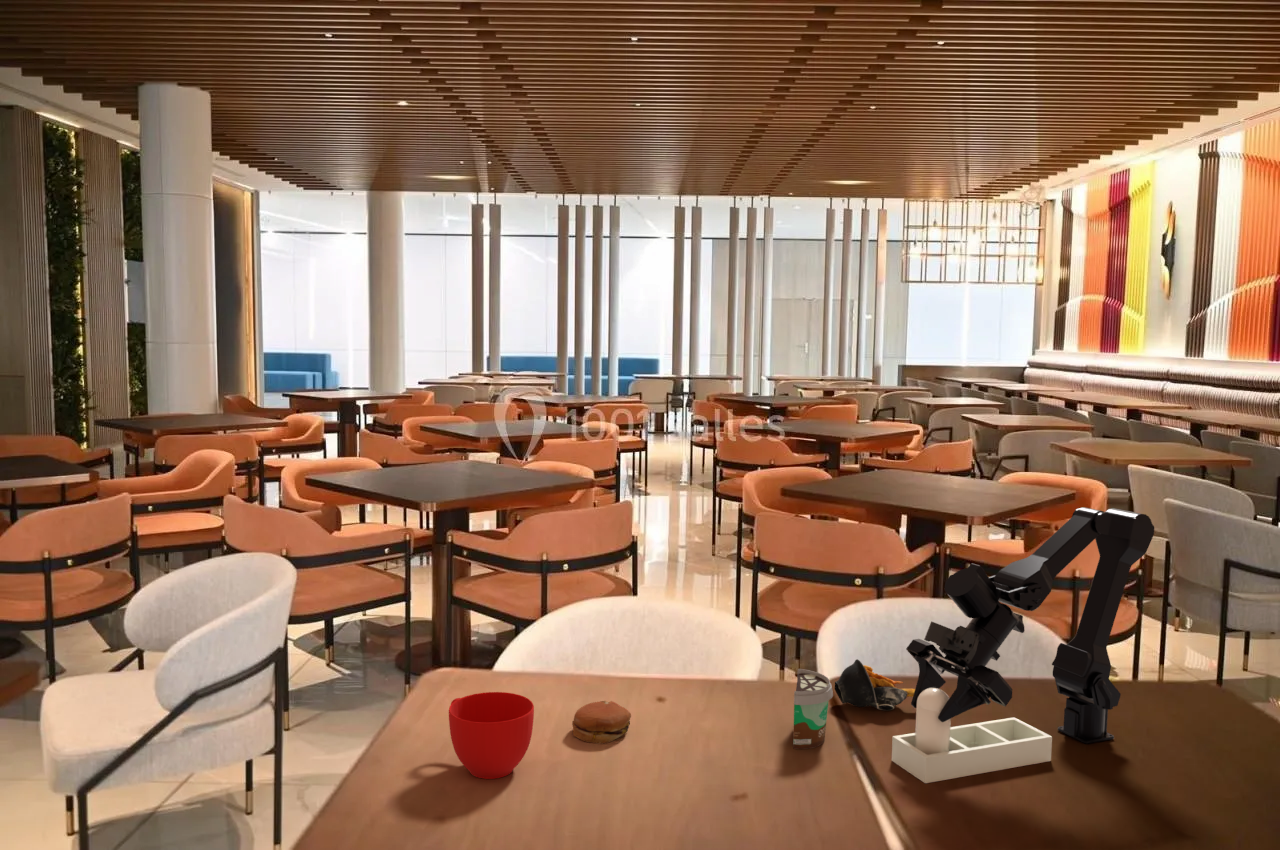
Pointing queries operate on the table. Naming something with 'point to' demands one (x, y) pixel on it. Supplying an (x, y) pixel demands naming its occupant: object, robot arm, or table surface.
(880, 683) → the fried shrimp in bowl
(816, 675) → the food container
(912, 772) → the compartment tray
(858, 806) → the table surface
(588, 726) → the burger
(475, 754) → the ceramic cup
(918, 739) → the cream capsule cylinder
